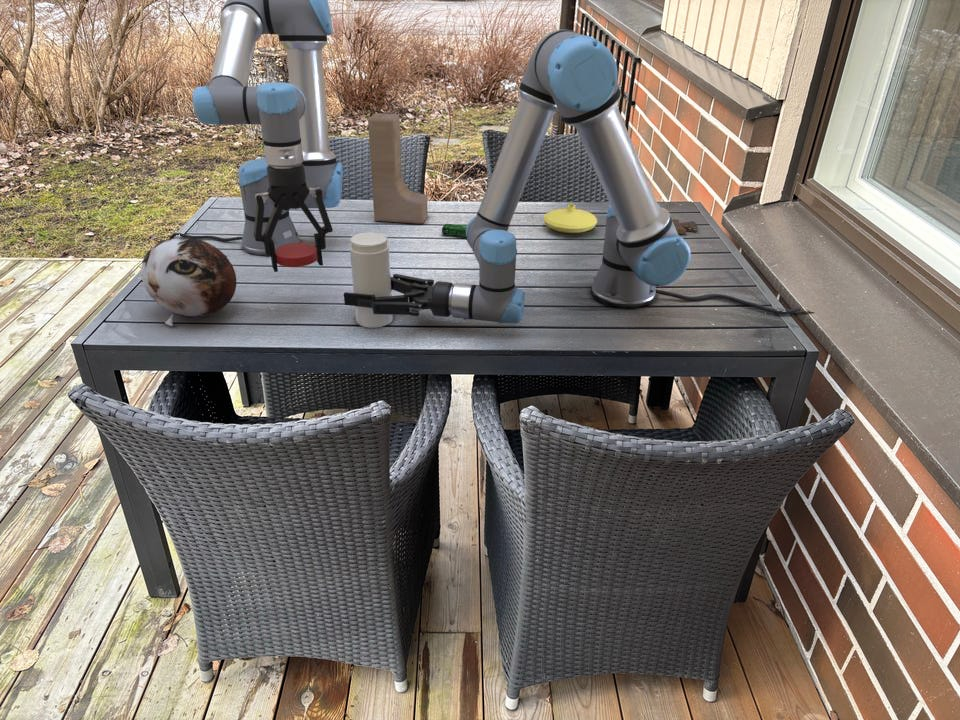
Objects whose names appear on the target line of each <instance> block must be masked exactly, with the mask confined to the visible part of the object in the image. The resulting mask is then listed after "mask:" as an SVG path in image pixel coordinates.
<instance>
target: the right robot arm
mask: <svg viewBox="0 0 960 720" xmlns="http://www.w3.org/2000/svg"><path fill="white" fill-rule="evenodd" d="M618 72H619V71H618V65H617V61H616V59H615V57H614V55H613V54H612V52H611V50H610V49H609V48H608V47H607V46H606V45H605V44H603V43H602V41H599V39H597V38H594V37H592V36H590V35H584V34H581V33H579V32H577V31H574V30H571V29H557V30H554V31H551V32H549V33H548V34H545V36H543V37H542V38H541V39H540V40H539V41H538V43H537V44H536V46H535V47H534V49H533V51H532V53H531V56H530V58H529V60H528V63H527V65H526V68H525V70H524V74H523V76H522V79H521V82H520V84H519V87H518V93H519V96H520V99H519V101H518V103H517V107H516V109H515V111H514V115H513V117H512V120H511V123H510V126H509V127H508V128H509V129H508V131H507V133H506V136H505V138H504V141H503V144H502V146H501V150H500V152H499V155H498V156H497V157H498V158H497V160H496V162H495V166H494V168H493V171H492V174H491V176H490V179H489V181H488V184H487V187H486V189H485V192H484V195H483V197H482V200H481V202H480V205H479V209H478V210H477V213H476V215H475V216H474V217H473V218H471V219H470V221H469V222H468V223H467V225H466V226H467V228H466V236H467V237H466V242H467V244H468V245H469V247H470V249H471V250H472V252H473V255H474V257H475V259H476V261H477V263H478V266H479V267H478V270H479V273H478V275H479V276H478V277H479V278H478V280H479V281H478V284H473V283H463V282H455V283H453V282H451V281H442V280H438V281H435V280H434V279H433V278H432V279H431V278H420V277H415V276H409V275H404V274H398V273H394V274H392V276H391V291H392V292H393V291H395V292H398V293H401V295H400V294H399V295H398V294H397V295H392V296H386V297H375V294H373V295H367V294H358V293H353V292H348V291H347V292H346V291H345V292H344V293H343V301H344V306H352V307H355V306H359V307H368V308H373V314H390V315H393V316H394V315H400V316H412V317H419V316H420V311H422V310H429V311H431V313H432V315H433V316H434V317H444V318H449V317H450V316H451V317H452V318H455V319H463V320H464V321H467V320H472V321H473V320H474V321H481V322H482V321H483V322H491V323H498V324H519V323H520V322H522V319H523V316H524V310H525V299H526V298H525V291H524V289H521V288H518V287H516V267H517V255H518V248H517V238H516V235H515V234H514V233H512V232H510V231H508V230H509V227H510V225H511V222H512V219H513V217H514V214H515V212H516V210H517V207H518V206H519V202H520V199H521V197H522V195H523V192H524V190H525V187H526V184H527V182H528V180H529V177H530V176H531V172H532V170H533V167H534V165H535V162H536V160H537V158H538V155H539V152H540V150H541V148H542V146H543V142H544V141H545V138H546V135H547V133H548V130H549V128H550V125H551V123H552V121H553V118H554V116H555V114H556V112H559V114H560V117H561V119H562V122H563V123H564V124H565V125H567V126H570V127H574V128H575V130H576V132H577V134H578V137H579V139H580V140H581V143H582V145H583V147H584V150H585V152H586V154H587V156H588V159H589V161H590V163H591V165H592V167H593V169H594V172H595V174H596V177H597V179H598V180H599V183H600V185H601V188H602V189H603V191H604V194H605V196H606V198H607V200H608V203H609V206H608V207H607V208H608V209H607V213H606V217H605V219H606V220H605V229H604V239H603V248H602V249H603V250H602V259H601V264H600V266H599V268H598V270H597V273H595V276H594V277H593V281H592V283H591V291H590V294H591V296H592V297H593V298H594V299H595V300H596V301H598V302H600V303H602V304H603V305H606V306H610V307H614V308H618V309H639V308H644V307H647V306H650V305H651V304H652V303H654V302H655V300H656V294H657V295H662V296H666V297H667V296H668V297H672V298H675V299H680V300H682V301H683V300H684V301H688V302H689V301H690V302H693V301H694V302H695V301H703V300H706V299H722V300H726V301H727V300H728V301H731V302H734V303H737V304H740V305H744V306H747V307H751V308H755V309H757V310H761V311H764V312H768V313H771V314H777V315H790V314H794V313H797V312H800V311H802V310H801V308H800V307H799V306H796V307H794V308H793V307H792V308H790V309H784V310H785V311H786V312H782V311H777V310H778V309H776V308H771V307H767V306H765V305H762V304H758V303H755V302H751V301H748V300H744V299H741V298H737V297H735V296H731V295H727V294H720V293H708V294H702V295H697V296H688V295H683V294H679V293H676V292H671V291H667V290H661V289H657V288H656V287H664V286H667V285H670V284H672V283H674V282H675V281H677V280H678V279H680V278H681V277H682V276H683V275H684V273H685V272H686V271H687V268H688V266H689V265H690V262H691V259H692V257H691V256H692V252H691V248H690V246H689V244H688V242H687V241H686V239H684V238H683V237H681V236H680V235H679V233H677V231H676V228H675V226H674V223H673V221H672V219H673V218H672V215H671V213H670V211H669V210H668V209H666V208H664V207H661V206H660V204H659V203H658V201H657V200H656V198H655V195H654V193H653V190H652V187H651V185H650V183H649V180H648V178H647V176H646V173H645V171H644V168H643V166H642V163H641V161H640V159H639V156H638V153H637V151H636V149H635V146H634V143H633V141H632V138H631V136H630V134H629V132H628V128H627V127H626V123H625V122H624V120H623V116H622V114H621V112H620V109H619V107H618V105H619V103H620V100H621V98H622V91H621V89H620V87H619V85H618V77H619V76H618V75H619V74H618Z"/></svg>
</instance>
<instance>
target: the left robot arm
mask: <svg viewBox="0 0 960 720" xmlns="http://www.w3.org/2000/svg"><path fill="white" fill-rule="evenodd" d="M219 25H220V28H221V33H220V37H219V41H218V45H217V49H216V53H215V58H214V61H213V62H214V63H213V67H212V70H211V75H210V79H209V82H208V85H203V86H196V87H195V88H194V89H193V92H192V105H193V106H192V107H193V111H194V115H195V118H196V119H197V121H198V122H199V123H201V124H203V125H217V126H228V125H229V126H232V125H233V126H234V125H260V129H261V135H262V143H263V150H264V151H263V153H264V157H258V158H254V159H251V160H248V161H246V162H244V163H242V164H241V165H240V166H239V168H238V170H237V174H238V186H239V190H240V196H241V202H242V208H243V212H244V213H243V215H244V219H245V220H244V226H243V228H244V229H243V235H242V236H234V237H220V236H216V235H191V234H189V235H188V234H186V233H181V232H174V233H172V234H171V235H170V236H169V237H168V239H170V238H176V237H177V236H176V235H179V234H180V236H179V237H188V238H195V239H199V240H216V241H218V242H219V241H220V242H233V241H234V242H235V241H241V246H242V249H243V251H244V252H246V253H248V254H252V255H255V256H256V255H257V256H266V257H267V258H270V259H271V267H272V270H273V272H274V273H278V272H279V268H278V264H277V260H276V253H275V249H276V248H278V247H280V246H282V245H285V244H290V243H301V241H300V235H299V233H298V231H297V229H296V227H295V225H294V223H293V220H292V218H291V216H290V210H302V211H303V213H304V214H305V216H306V217H307V219H308V220H309V222H310V223H311V225H312V227H313V228H314V230H315V231H316V233H313V238H314V246H316V247H317V251H318V259H317V261H316V262H317V264H318V266H324V262H323V252H322V251H323V250H326V247H327V246H326V245H327V244H326V236H327V235H326V234H328V233H329V234H330V233H332V232H333V231H334V229H333V226H332V223H331V221H330V218H329V214H328V211H327V209H335V208H337V207H338V206H339V205H340V203H341V201H342V200H341V199H342V192H343V178H344V177H343V176H344V171H343V170H344V166H343V163H340V162H337V155H336V154H335V153H334V152H333V151H332V150H331V148H330V136H329V123H328V109H327V98H326V86H325V74H324V62H323V49H324V48H325V47H326V46H327V44H328V36H331V35H333V32H334V30H333V21H332V15H331V10H330V5H329V1H328V0H226V1H225V3H224V4H223V6H222V8H221V12H220V16H219ZM263 35H277V36H278V42H279V44H280V45H281V46H282V47H283V48H284V49H285V51H286V60H287V71H288V81H289V83H288V82H282V81H281V82H280V81H278V82H277V81H276V82H275V81H274V82H266V83H265V82H264V83H261V84H259V85H257V86H255V85H253V86H248V84H249V78H250V74H251V68H252V63H253V58H254V53H255V49H256V42H258V40H260V38H261V37H262V36H263ZM310 209H318V212H319V215H320V218H321V220H322V224H323V225H324V226H321V225H320V223H319V222H318V220H317V219H316V218H315V216H314V214H313V213H312V212H311V210H310Z"/></svg>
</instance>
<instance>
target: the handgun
mask: <svg viewBox="0 0 960 720" xmlns="http://www.w3.org/2000/svg"><path fill="white" fill-rule="evenodd" d="M466 228H467V225H459V224H453V223H445V224H443V226H442V227H441V235H446V236H454V237H462V238H467V236H466Z"/></svg>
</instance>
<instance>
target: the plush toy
mask: <svg viewBox="0 0 960 720" xmlns="http://www.w3.org/2000/svg"><path fill="white" fill-rule="evenodd" d="M140 276H141V281H142V284H143V287H144V289H145V290H146V292H147V294H148V295H149V296H150V297H151V298H152V300H154V301H155V302H156V303H157V304H158V305H159V306H161V307H162V308H164V309H166V310H167V311H170V312H172V314H171V316H170V317H169V318H168V319H167V320H166V321H164V324H165V325H168V326H170V327H173V326H174V323H173V322H174V321H173V318H174V314H177V315H180V316H185V317H186V316H187V317H203V316H208V315H212V314H215V313H218V312H219V311H220V310H223V309H224V308H225V307H227V305H228V304H229V303H230V302H231V300H232V299H233V297H234V295H235V294H236V290H237V283H238V281H237V274H236V270H235V267H234V266H233V264H232V262H231V261H230V259H229V258H228V255H225V254H224V253H223V252H222V250H220V249H219V248H217V247H216V246H215V245H213V244H211V243H209V242H207V241H204V240H203V239H195V238H188V237H181V236H175V237H174V238H170V239H169V238H166V239H164V240H161V241H160V242H158V243H156V244H155V245H152V247H150V249H148V251H147V253H146V254H145V255H144V257H143V259H142V262H141V266H140Z"/></svg>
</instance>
